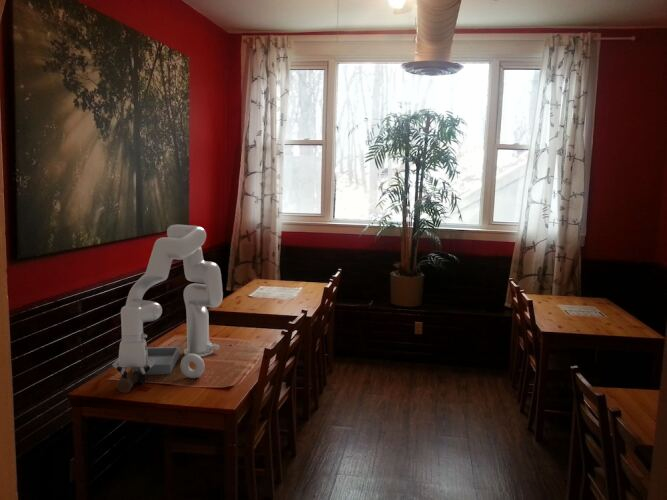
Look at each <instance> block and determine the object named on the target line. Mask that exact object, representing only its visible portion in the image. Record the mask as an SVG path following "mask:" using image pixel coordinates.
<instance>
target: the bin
mask: <svg viewBox="0 0 667 500" xmlns="http://www.w3.org/2000/svg"><path fill="white" fill-rule="evenodd" d="M180 349H181V347H180V346H175V347H174V346H169V347H168V346H167V347H163V346H162V347H147V350H148V357H149V358H150V359H151V360H152V361H153V362H154V363H155V364H154V365H153V366H152V367H151V368H150V369H149V370H148V371H147V375H171V374H172V372H173V370H174V368H175V367H176V365H177V362H178V361H177V360H179V358H180V356H181V350H180ZM148 365H149V363H146V367H147V366H148ZM135 370H140V367H132V368H131V375H132V374H133V372H134V371H135ZM147 375H146V376H147Z"/></svg>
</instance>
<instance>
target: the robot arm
mask: <svg viewBox="0 0 667 500" xmlns="http://www.w3.org/2000/svg"><path fill="white" fill-rule="evenodd" d="M166 235H167V237H160V238H157V239H156V241H155V242H154V244H153V247H152V251H151V254H150V257H149V260H148V264H147V267H146V271H145V273H144V274H143V275H142V276H141V277H139V278H138V280H137V281H136V282H134V284H133V285H132V287H131V288H130V290H129V292H128V295H127V299H126V301H125V302H126V303H125V305H124V306H123V307H121V309H120V321H121V323H120V324H121V341H120V343H119V349H118V358H117V359H116V360H115V361H114V362H113V363H112V367H113V368H115V369H116V371H117V372H119V373H120V375H121V378H128V372H127V369H128V368H129V369H130V368H131V369H132V367H140V369H141V371H142V374H141V382H140V384H141V385H144V384H145V383H146V381H147V375H146V372H147V371H148V370H149V369H150V368H151V367H152V366H153V365H154V364H155V363H154V362H153V361H152V360H151V359H150V358H149V357H148V350H147V348H148V345H147V341H146V339H147V338H148V334H146V333H144V323H146V322H154V321H156V320H158V319H160V317H161V315H162V313H163V308H162V306H161V304H160V303H158V302H156V301H151V300H147V299H146V300H145V299H143V297H144V295H145V293H146V292H147V291H148V290H149V289H150V288H151V287H153V286H154V285H156V284H159V283H162V282H164V281H166V280H167V279H168V277H169V274H170V272H171V271H170V270H171V266H172V264H173V260H180V261H181V260H182V262H183V271H184V275H185V276H184V277H185V279H186V280H187V281H189V282H194V283H190V284H188V285H187V286H185V288H184V289H183V301H184V305H185V309H186V310H185V311H186V314H185V315H186V338H187V340H186V343H187V347H186V348H185V349H184V350H183V354H184V356H185V355H188V354H197V355H198V356H200V357H201V358H203V357H206V356H210V355H211V354H212V353H213V352H214V350H220V345H219V344H218V343H212V342H211V340H210V326H209V324H210V322H209V314H210V313H209V310H208V308H218V307H219V306H220V305H221V304H222V302H223V297H224V292H223V281H222V273H221V268H220V266H219V265H218V264H217V263H216V262H213V261H209V260H207V261H206V260H204V255H203V254H204V253H203V249H202V246H203V245H204V244H205V242H206V241H207V240H206V239H207V232H206V229H204V228H203V227H201V226H198V225H188V224H172V225H170V226H168V227H167V231H166ZM146 363H149V365H148V366H147V367H146Z"/></svg>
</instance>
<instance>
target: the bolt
mask: <svg viewBox="0 0 667 500" xmlns="http://www.w3.org/2000/svg"><path fill="white" fill-rule="evenodd" d="M141 374H142V371H141V369H140V370H135V371H134V372H133V374H132V373H131V375H130V376H129V377H127V378H122V377H121V378H120V379H119V380H118V382H117V384H116V387H117V390H119V392H121V393H125V394H126V393H130V392H131V389H132V388H133V387H134V385H135V384H136V383H141ZM146 376H147V372H146Z"/></svg>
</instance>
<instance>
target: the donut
mask: <svg viewBox="0 0 667 500" xmlns="http://www.w3.org/2000/svg"><path fill="white" fill-rule="evenodd" d="M180 360H181V361H180V364H179V366H180V370H181V372H182V374H183V375H184V376H185V377H187V378H190V379H196V378H199V377H201V376H202V375H203V374H204V371H205V368H206V367H205V366H206V365H205V361H204V359H203V357H200V356H198V355H197V354H188V355H185V354H184V356H183V357H182V359H180ZM190 363H194V364H195V369H192V368H191V367H190Z"/></svg>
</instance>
